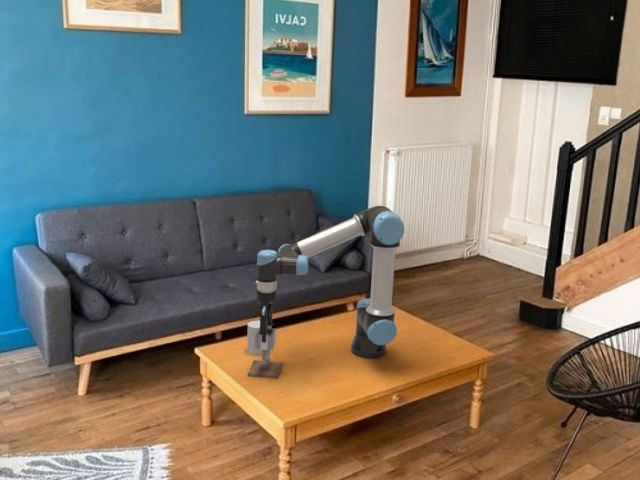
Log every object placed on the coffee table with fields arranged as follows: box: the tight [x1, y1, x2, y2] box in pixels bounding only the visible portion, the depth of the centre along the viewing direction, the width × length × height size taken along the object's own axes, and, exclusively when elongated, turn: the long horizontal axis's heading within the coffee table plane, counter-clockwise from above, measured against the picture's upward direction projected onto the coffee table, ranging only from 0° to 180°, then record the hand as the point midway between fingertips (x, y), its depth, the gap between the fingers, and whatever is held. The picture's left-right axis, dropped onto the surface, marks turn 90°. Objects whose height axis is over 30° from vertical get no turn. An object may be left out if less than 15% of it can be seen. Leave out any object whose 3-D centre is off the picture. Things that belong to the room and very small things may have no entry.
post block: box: [247, 350, 284, 379], centre depth 269 cm, size 12×12×10 cm
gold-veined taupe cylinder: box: [246, 320, 262, 356], centre depth 287 cm, size 8×8×12 cm
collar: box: [255, 327, 277, 351], centre depth 267 cm, size 7×7×6 cm
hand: (265, 345), depth 267 cm, fingers closed on collar, 7 cm apart
